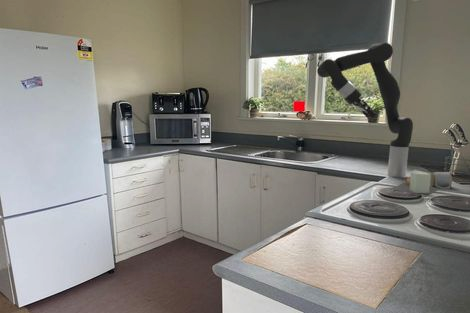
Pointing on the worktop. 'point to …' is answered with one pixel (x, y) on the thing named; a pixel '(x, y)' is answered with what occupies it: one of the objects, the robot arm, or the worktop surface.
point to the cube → (408, 181)
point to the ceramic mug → (441, 180)
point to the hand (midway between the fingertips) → (371, 116)
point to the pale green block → (420, 182)
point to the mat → (406, 189)
